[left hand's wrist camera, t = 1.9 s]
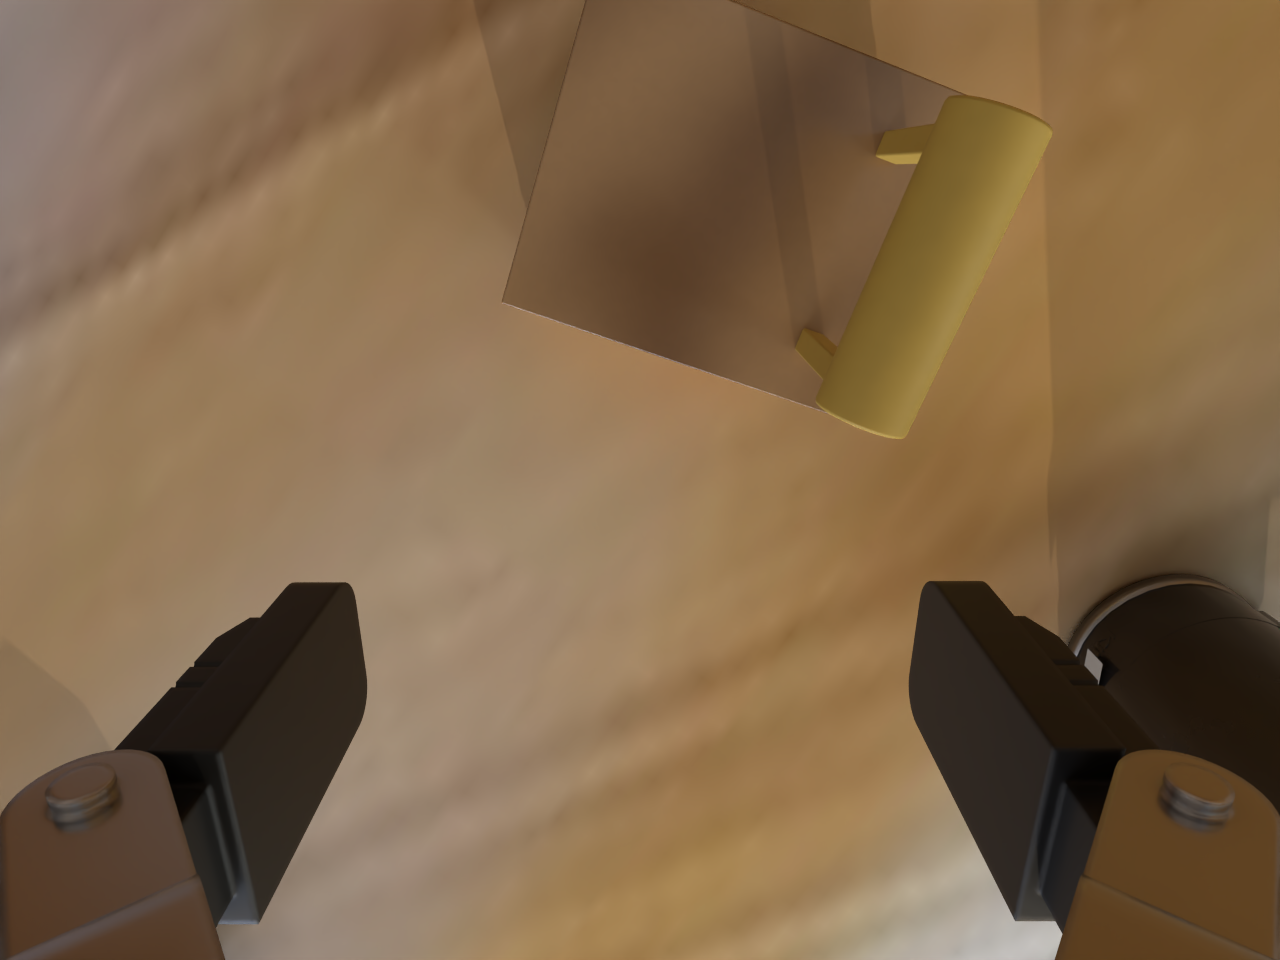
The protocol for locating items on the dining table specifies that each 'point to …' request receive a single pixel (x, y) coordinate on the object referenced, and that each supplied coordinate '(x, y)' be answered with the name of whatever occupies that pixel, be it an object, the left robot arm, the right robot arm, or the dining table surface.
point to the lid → (767, 205)
